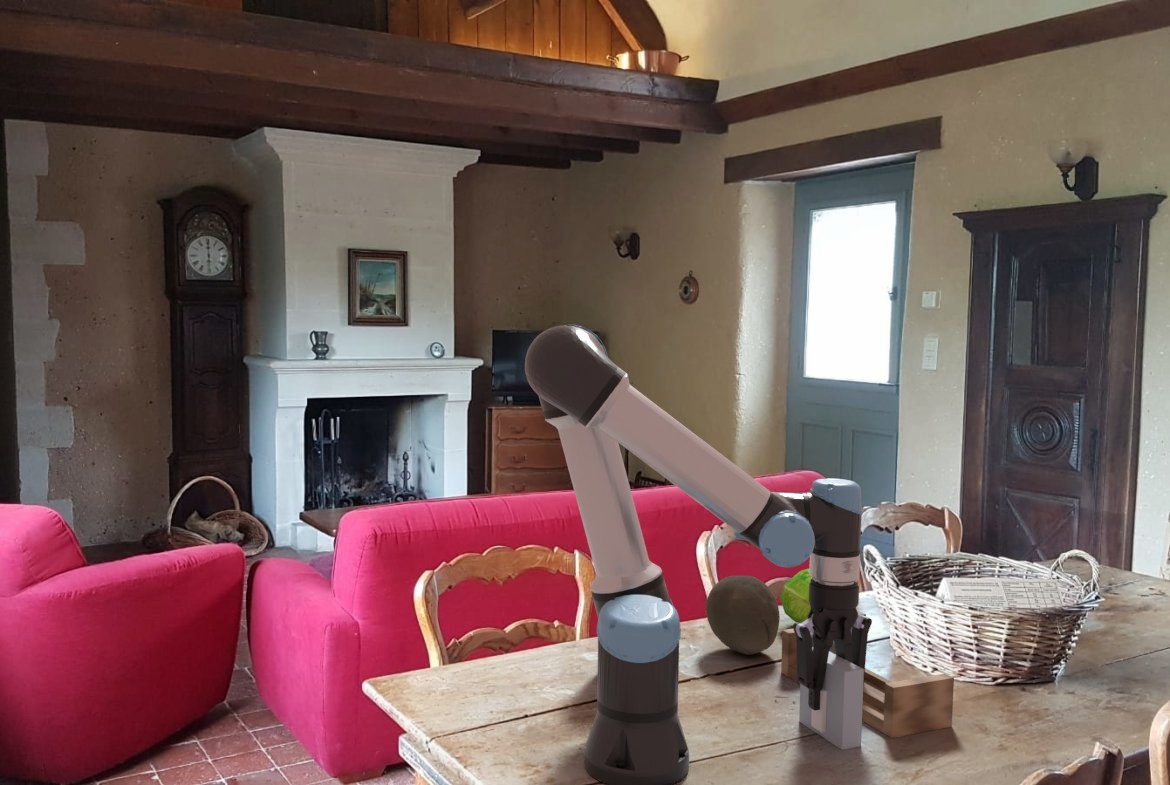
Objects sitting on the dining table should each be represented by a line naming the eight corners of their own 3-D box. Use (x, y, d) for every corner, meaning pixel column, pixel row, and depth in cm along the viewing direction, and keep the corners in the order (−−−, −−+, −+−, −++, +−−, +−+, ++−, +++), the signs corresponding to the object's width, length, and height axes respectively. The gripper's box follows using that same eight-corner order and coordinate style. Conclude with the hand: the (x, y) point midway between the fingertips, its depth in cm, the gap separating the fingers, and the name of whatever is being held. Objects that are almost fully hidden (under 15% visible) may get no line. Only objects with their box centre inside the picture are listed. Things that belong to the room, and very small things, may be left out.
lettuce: (818, 652, 190) (820, 592, 189) (769, 621, 209) (771, 566, 208) (880, 646, 194) (882, 587, 193) (826, 616, 213) (828, 562, 212)
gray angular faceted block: (842, 749, 147) (844, 672, 146) (799, 721, 157) (801, 648, 156) (861, 746, 148) (863, 669, 147) (817, 718, 158) (819, 646, 157)
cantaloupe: (775, 642, 195) (777, 568, 194) (781, 667, 181) (784, 588, 180) (704, 639, 197) (706, 566, 196) (705, 663, 183) (707, 585, 182)
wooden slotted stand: (891, 738, 151) (894, 649, 150) (781, 672, 178) (783, 597, 177) (951, 726, 155) (955, 640, 154) (835, 664, 183) (837, 591, 182)
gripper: (803, 591, 144) (799, 744, 146) (893, 580, 150) (888, 728, 152) (775, 578, 151) (771, 725, 152) (862, 569, 157) (857, 710, 159)
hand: (829, 726), depth 152 cm, fingers closed on gray angular faceted block, 3 cm apart
